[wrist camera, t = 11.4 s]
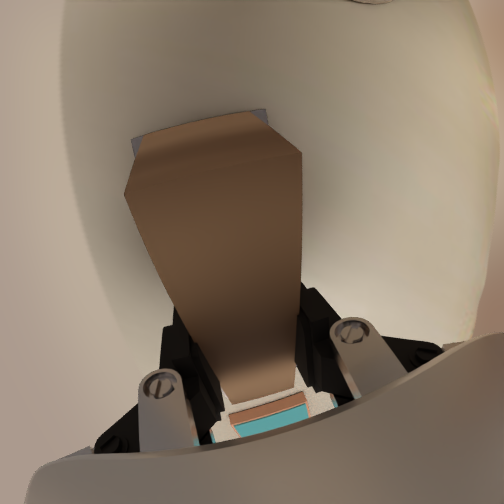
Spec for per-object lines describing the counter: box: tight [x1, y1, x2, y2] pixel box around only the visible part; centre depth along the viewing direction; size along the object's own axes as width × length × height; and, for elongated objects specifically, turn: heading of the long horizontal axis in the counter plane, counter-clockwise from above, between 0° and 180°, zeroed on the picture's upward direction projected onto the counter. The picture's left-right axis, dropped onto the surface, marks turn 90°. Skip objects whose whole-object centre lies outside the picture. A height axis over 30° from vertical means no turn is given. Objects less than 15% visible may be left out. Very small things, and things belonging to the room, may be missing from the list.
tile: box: [229, 392, 311, 438], centre depth 23 cm, size 1×7×8 cm
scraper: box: [124, 111, 302, 405], centre depth 12 cm, size 18×5×4 cm, turn 11°
